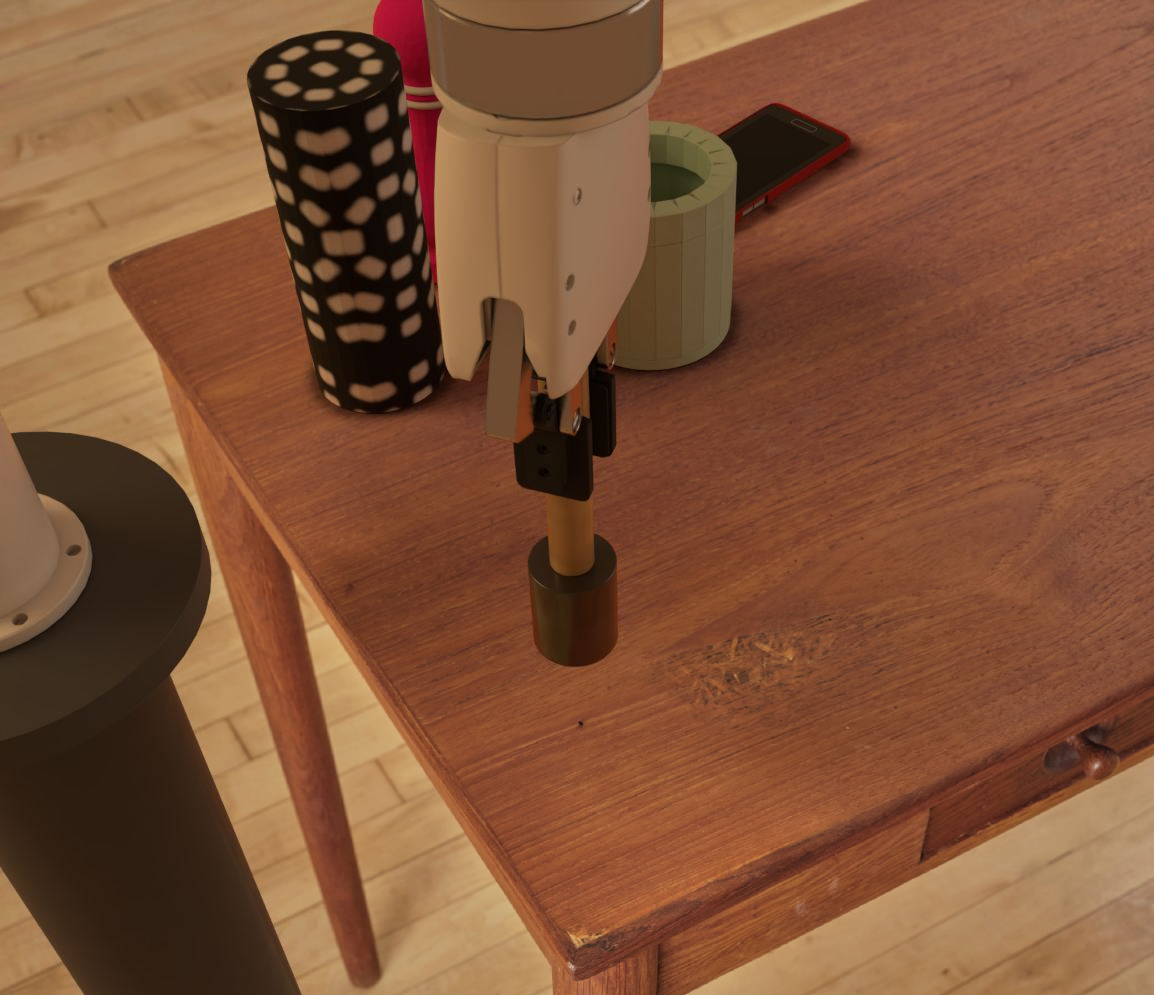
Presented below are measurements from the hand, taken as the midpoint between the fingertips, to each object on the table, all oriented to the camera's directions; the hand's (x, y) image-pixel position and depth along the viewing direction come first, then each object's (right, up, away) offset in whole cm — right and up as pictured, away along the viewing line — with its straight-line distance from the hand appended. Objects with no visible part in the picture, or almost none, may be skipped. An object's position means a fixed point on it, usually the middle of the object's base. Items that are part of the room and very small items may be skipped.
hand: (567, 465), depth 62 cm
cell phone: (+13, +30, +46) cm, 56 cm away
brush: (0, -6, +9) cm, 11 cm away
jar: (+5, +17, +36) cm, 40 cm away
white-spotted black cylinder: (-12, +13, +35) cm, 39 cm away
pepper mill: (-8, +23, +41) cm, 48 cm away
